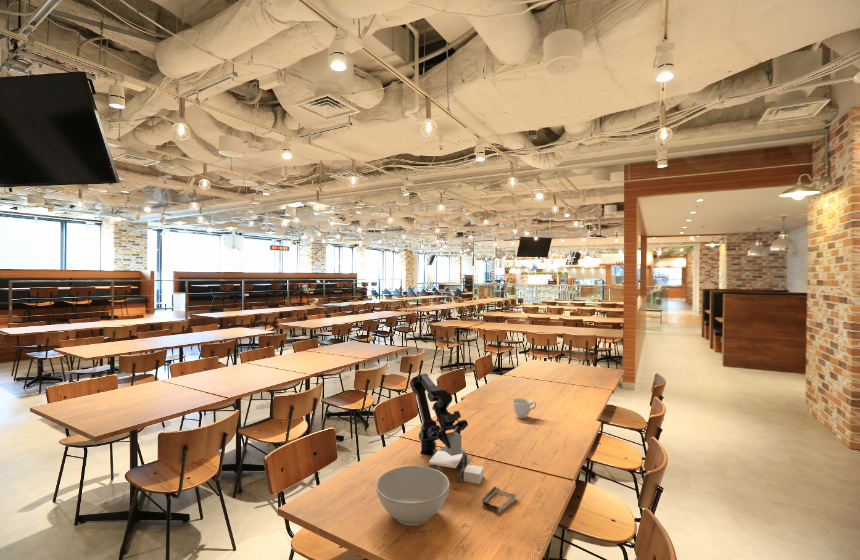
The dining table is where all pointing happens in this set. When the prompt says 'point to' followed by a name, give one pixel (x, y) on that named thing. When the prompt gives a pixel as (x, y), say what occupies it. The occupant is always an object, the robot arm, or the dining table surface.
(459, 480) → the frame
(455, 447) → the stone
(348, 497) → the dining table surface
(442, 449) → the trapdoor
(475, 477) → the light grey block
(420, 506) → the decorative bowl
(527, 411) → the teacup
